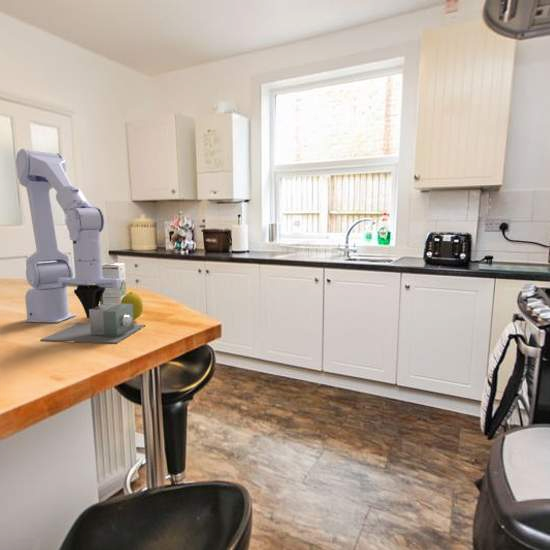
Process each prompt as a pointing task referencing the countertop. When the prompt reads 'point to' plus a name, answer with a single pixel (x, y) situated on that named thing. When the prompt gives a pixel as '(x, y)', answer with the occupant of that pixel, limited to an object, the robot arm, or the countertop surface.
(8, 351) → the countertop surface
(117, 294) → the syrup box
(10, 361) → the countertop surface
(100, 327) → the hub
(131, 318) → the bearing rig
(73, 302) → the countertop surface
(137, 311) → the lemon
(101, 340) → the mat
